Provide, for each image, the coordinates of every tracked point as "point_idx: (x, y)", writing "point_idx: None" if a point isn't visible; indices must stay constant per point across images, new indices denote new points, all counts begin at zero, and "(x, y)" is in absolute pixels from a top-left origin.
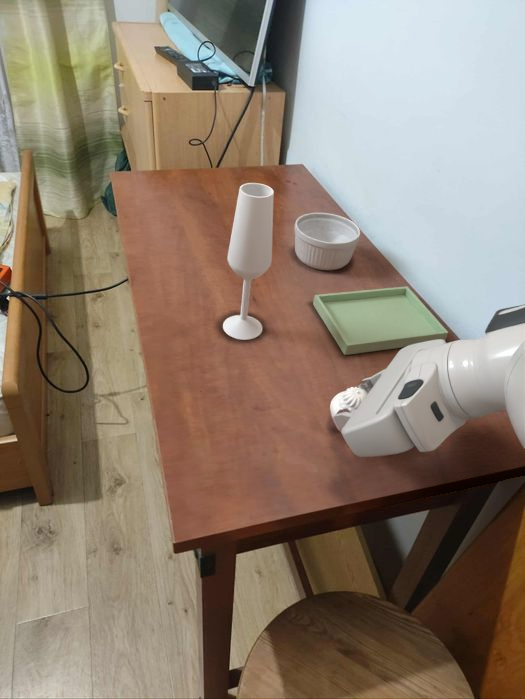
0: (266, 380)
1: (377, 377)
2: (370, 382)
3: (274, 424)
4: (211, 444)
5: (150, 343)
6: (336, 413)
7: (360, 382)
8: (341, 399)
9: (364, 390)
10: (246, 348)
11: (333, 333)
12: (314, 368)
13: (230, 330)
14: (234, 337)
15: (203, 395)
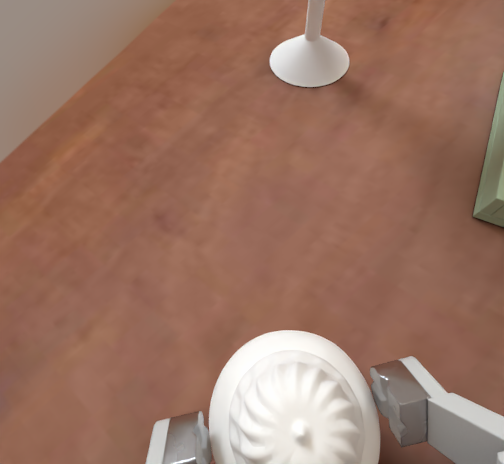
0: (238, 175)
1: (472, 431)
2: (424, 410)
3: (149, 273)
4: (20, 234)
5: (150, 30)
6: (172, 420)
7: (391, 365)
8: (252, 377)
9: (351, 436)
10: (273, 99)
11: (491, 151)
12: (362, 206)
13: (277, 55)
14: (274, 71)
15: (115, 142)
